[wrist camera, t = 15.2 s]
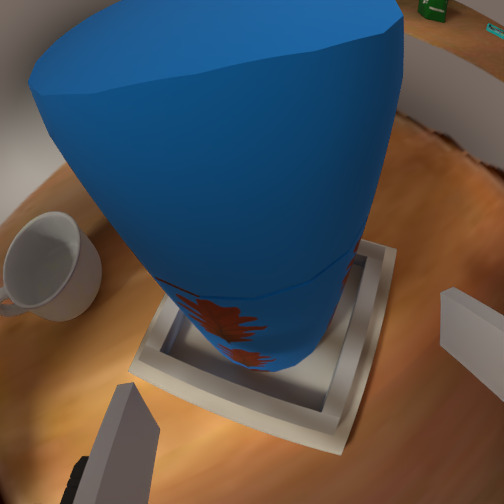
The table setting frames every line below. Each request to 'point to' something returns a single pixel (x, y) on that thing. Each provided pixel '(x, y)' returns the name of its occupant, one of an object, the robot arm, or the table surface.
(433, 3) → the milk carton
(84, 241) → the teacup
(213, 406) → the grey square tray
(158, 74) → the thermos
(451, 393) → the table surface
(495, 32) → the handheld gaming console
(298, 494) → the table surface
